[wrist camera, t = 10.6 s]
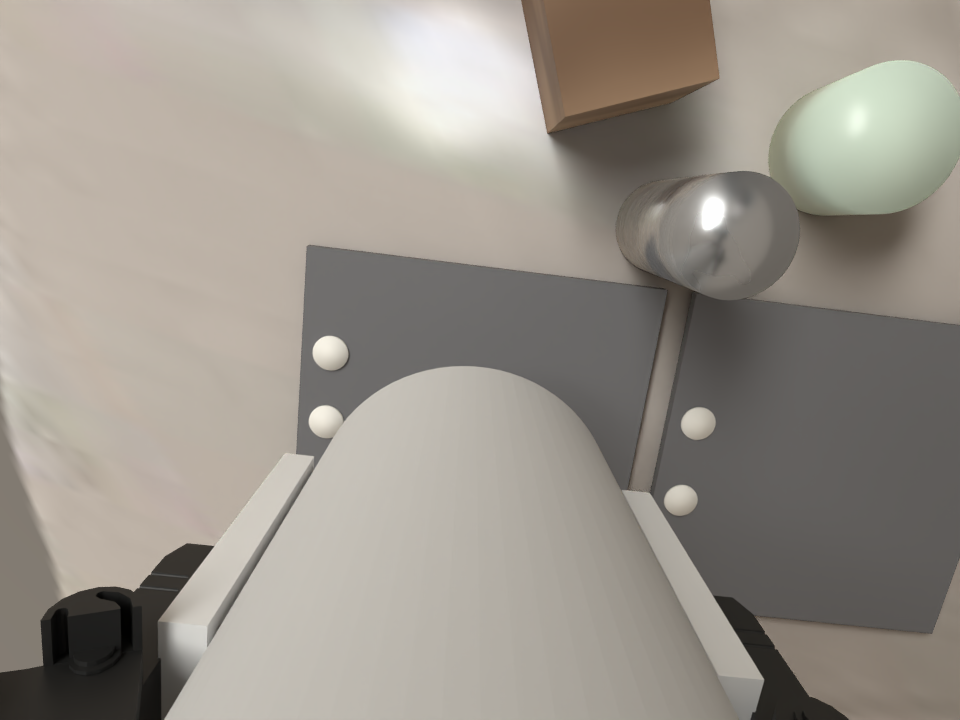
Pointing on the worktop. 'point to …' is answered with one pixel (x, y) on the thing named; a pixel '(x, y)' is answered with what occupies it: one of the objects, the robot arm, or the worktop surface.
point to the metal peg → (711, 232)
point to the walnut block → (617, 55)
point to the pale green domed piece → (869, 141)
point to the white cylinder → (457, 577)
